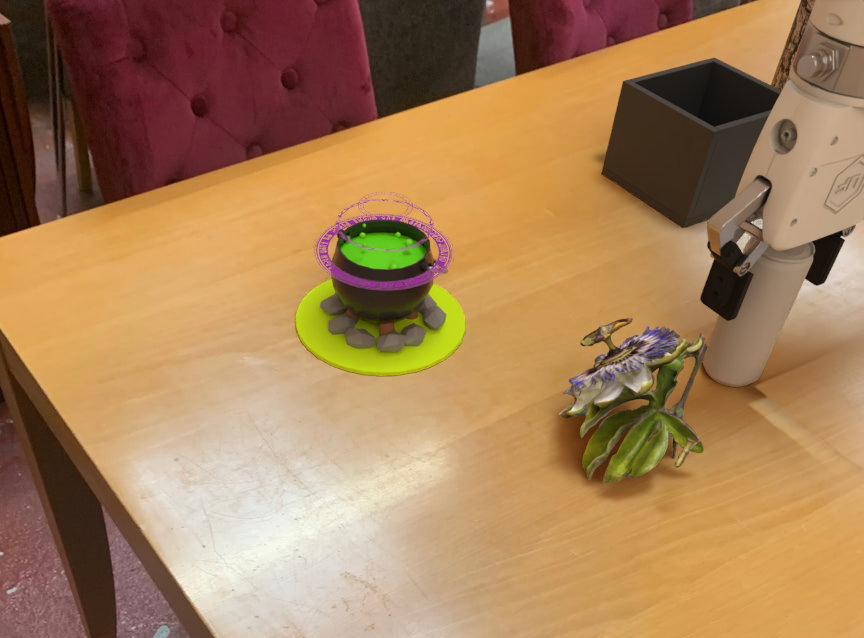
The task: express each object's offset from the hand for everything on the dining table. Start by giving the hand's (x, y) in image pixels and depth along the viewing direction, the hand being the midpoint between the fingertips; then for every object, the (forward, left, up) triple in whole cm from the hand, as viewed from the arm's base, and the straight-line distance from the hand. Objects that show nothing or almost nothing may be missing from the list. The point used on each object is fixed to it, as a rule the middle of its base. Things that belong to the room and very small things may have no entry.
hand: (762, 292), depth 69 cm
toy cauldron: (+22, -20, -8) cm, 31 cm away
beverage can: (0, 0, -8) cm, 8 cm away
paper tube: (-36, -27, -8) cm, 46 cm away
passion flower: (+13, +2, -8) cm, 15 cm away
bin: (-19, -25, -8) cm, 32 cm away
